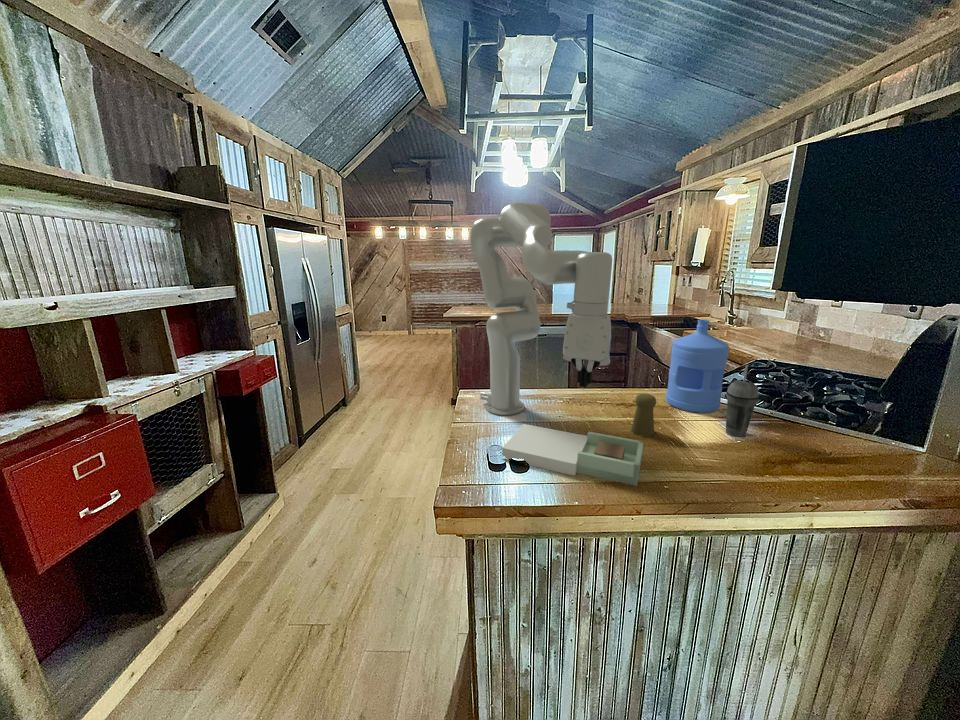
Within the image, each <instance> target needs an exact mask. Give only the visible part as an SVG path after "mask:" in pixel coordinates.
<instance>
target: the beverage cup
mask: <svg viewBox="0 0 960 720" xmlns="http://www.w3.org/2000/svg"><path fill="white" fill-rule="evenodd" d="M748 369H749V364H745V368H744V375H743V379H741V378H740V379H738V380H737V379H736V380H735V381H733V382H731V383H730V384H729V385H728V387H727V390H726V401H727V402H726V416H725V417H726V419H725V433H726V434H727V436H730V437H732V438H740V439H741V438H745V437H746V434H747V432H748V430H749V426H750V423H751V420H752V415H753V413H754V409H755V406H756V405H757V403H758V399H760V396H759V395H760V393H759V389H758V386H757V385H756V384H755V383H753V382H752V381H751V380H748V379H747V375H748Z"/></svg>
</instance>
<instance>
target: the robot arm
mask: <svg viewBox="0 0 960 720" xmlns="http://www.w3.org/2000/svg"><path fill="white" fill-rule="evenodd" d="M551 221H552V217H551V213H550V211H549V209H548V208H547V207H546V206H544V205H543V204H540V203H525V202H513V203H509V204H507V205H505V206H504V208H502V210H501V211H500V215H499V217H495V216H493V217H482V218H479V219H477V220H476V221H474V222H473V224H472V226H471V228H470V233H469V234H470V235H469V241H470V242H469V243H470V249H471V252H472V254H473V257H474V259H475V261H476V264H477V267H478V270H479V275H480V280H481V285H482V289H483V295H484V300H485V303H486V304H487V306H488V308H491V309H493V310H494V309H495V310H503V309H512V308H514V309H515V310H512V311H503V312H502V311H501V312H497V313H495V314H493V315H491V316H489V318H488V319H487V321H486V325H485V326H486V335H487V339H488V340H487V341H488V347H489V375H490V376H489V382H490V383H489V384H490V385H489V386H490V388H489V389H490V390H489V392H486V391H481V392H480V393H479V396H480V397H479V398H480V400H481V401H487V402H486V403H485V409H486V410H487V411H488V412H489V413H491V414H494V415H500V416H512V415H517V414H520V413H521V412H524V410H525V404H524V402H523V401H521V400H520V397H521V394H520V385H521V384H520V381H521V378H520V376H521V375H520V374H521V373H520V372H521V364H520V363H521V357H520V353H519V351H518V350H517V348H516V346H515V344H514V343H517V342H522V341H528V340H533V339H535V338H537V336H538V335H539V334H540V331H541V320H540V319H541V318H540V314H539V309H538V305H537V299H536V294H535V289H534V288H533V285H532V283H531V282H530V281H529V279H528V278H527V279H526V278H525V277H520V276H518V277H517V276H516V277H510V275H509V273H508V269H507V263H506V261H505V260H504V258H503V257H502V255H501V254H500V253H499V252H498V251H497V250H496V248H518V247H521V259H522V262H523V263H522V264H523V266H524V268H525V269H526V270H527V271H528V272H529V274H531V276H532V277H534V278H535V279H536V280H537V281H538V282H540V283H541V284H544V285H562V284H563V285H564V284H565V285H566V284H574V289H573V290H574V291H573V300H572V301H571V302H567V303H566V308H567V309H570V310H571V313H569V314H568V317H567V321H566V325H565V331H564V336H563V345H562V355H563V356H562V359H563V360H564V361H567V362H571V364H573V366H574V367H575V368H576V370H577V378H576V379H577V381H576V382H577V383H579V384H578V387H579V388H582V387H583V388H585V389H586V388H587V387H588V386H589V385H590V384H591V383H592V377H593V371H594V370H595V369H596V368H598V367H600V366H602V367H603V366H609V365H610V364H611V359H610V353H611V348H612V347H611V346H612V345H611V344H612V322H611V316H610V315H608V312H609V311H608V310H609V300H610V290H611V289H610V288H611V279H612V278H611V277H612V269H613V256H612V255H611V253H609V252H603V251H585V250H567V249H566V250H550V249H548V246H549V245H550V243H551V240H552V238H553V231H552V228H551ZM585 361H588V363H587V366H585Z"/></svg>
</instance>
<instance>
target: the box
mask: <svg viewBox="0 0 960 720" xmlns="http://www.w3.org/2000/svg"><path fill="white" fill-rule="evenodd" d="M586 436H587V445H586V447H585V449H584V451H583V452H580V451H578V456H577V473H578V474H582V475H585V476H590V477H595V478H599V479H602V478H603V480H606V479H608V481H611V480H612V481H611V482H615V481H617V482H616V483H619V482H623V483H622V484H624V483H627V484H626V485H628V484H631V485H630V486H632V485H635V486H634V487H638V483H639V480H640V479H639V478H640V471H641V466H642V459H643V451H644V442H645V441H642V440H636V439H632V438H625V437H621V436H615V435H610V434H603V433H599V432H592V431H588V432H587V435H586ZM599 441H600V442H605V443H610V444H615V445H620V446H625V452H624V458H623V460H619V459H614V458H609V457H605V456H600V455H595V454H594V452H595V449H596V447H597V445H598V442H599ZM577 473H576V474H577Z"/></svg>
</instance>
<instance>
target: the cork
mask: <svg viewBox="0 0 960 720" xmlns="http://www.w3.org/2000/svg"><path fill="white" fill-rule="evenodd" d="M656 404H657V399H656V397H655V396H654V395H653V394H650V393H639V394H638V395H637V396H636V397H635V405H636V409H635V414H634V417H633V420H632V421H633V422H632V424H631V430H630V431H631V433H632V432H633V433H632V434H634V435H636V436H638V437H639V436H640V437H644V436H645V438H646V437H647V436H649V437H652V436H651V435H653V434H654V435H655V421H654V420H655V419H654V408H655V406H656ZM654 435H653V436H654Z"/></svg>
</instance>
